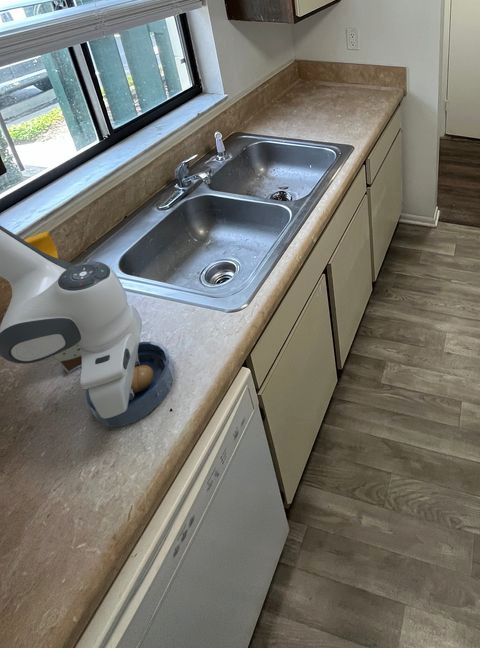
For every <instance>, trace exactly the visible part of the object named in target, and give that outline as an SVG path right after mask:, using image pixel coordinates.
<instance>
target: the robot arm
mask: <svg viewBox="0 0 480 648" xmlns="http://www.w3.org/2000/svg"><path fill="white" fill-rule="evenodd" d="M24 240H25V239H23V238H21V237H20V236H18V235H17V234H15V233H13V232H12V231H10V230H8V229H7V228H5V227H3V226H2V225H0V277H1V278H3V279H4V280H6V281H7V282H8V283H9V285H10V288H11V299H10V301H9V305H8V306H7V310H6V312H5V314H4V316H3V318H2V321H1V322H0V357H1V358H2V359H4V360H6V361H7V362H11V363H14V364H21V365H27V364H28V365H29V364H34V363H37V362H41V361H44V360H46V359H49V358H51V357H54V356H53V355H56V354H58V353H60V352H62V351H64V350H66V349H69V348H70V347H72V346H74V345H76V344H77V343H80V345H81V347H82V348H81V358H82V364H81V366H80V377H79V384H80V386H81V389H83V390H87V388H89V396H90V399H91V401H92V403H93V405H94V407H95V408H96V410H97V412H98V413H99V415H100V416H101V417H102V418H110V417H113V416H116V415H119V414H121V413H123V412H125V411H126V410H127V407H128V401H129V400H131V399H133V398H134V394H135V389H134V387H133V386H131V384H132V379H133V373H134V368H135V367H138V366H139V365H140V362H139V360H138V346H139V343H140V339H141V335H142V329H143V321H142V318H141V316H140V313H139V311H138V310H137V307H135V306H134V305H133V304H129V302H128V296H127V293H126V290H125V288H124V286H123V283H121V280H120V279H119V277H118V275H117V274H116V272H115V271H114V270H113V268H112V267H110V265H108V264H106V263H105V262H104V263H103V262H100V261H95V260H94V261H93V260H92V261H91V260H89V261H83V262H81V263H77V264H74V263H72V262H70V261H67V260H65V259H61V258H59V257H58V258H59V259H58V258H55V257H52V256H50V255H48V254H46V253H44V252H42V251H40V250H39V249H37V248H35V247H34V246H32V245H31V244H29V243H28V242H26V241H24Z"/></svg>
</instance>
